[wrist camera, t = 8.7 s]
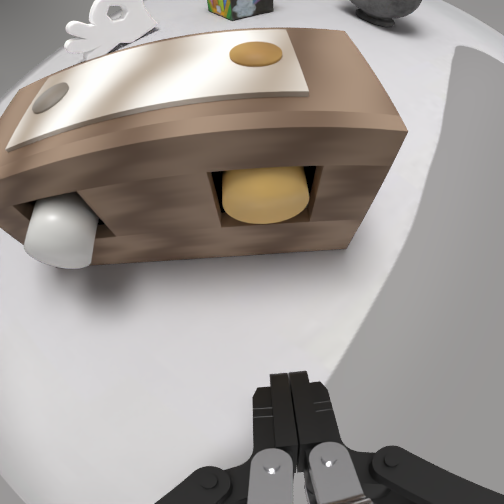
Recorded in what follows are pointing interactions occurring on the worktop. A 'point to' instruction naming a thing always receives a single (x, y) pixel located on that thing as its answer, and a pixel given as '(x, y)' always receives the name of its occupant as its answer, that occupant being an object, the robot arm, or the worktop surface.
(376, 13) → the grey vase
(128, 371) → the worktop surface
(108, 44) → the white lobed cutout
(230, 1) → the chalk box
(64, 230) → the grey button
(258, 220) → the amber button
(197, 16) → the worktop surface
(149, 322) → the worktop surface
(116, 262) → the button panel
